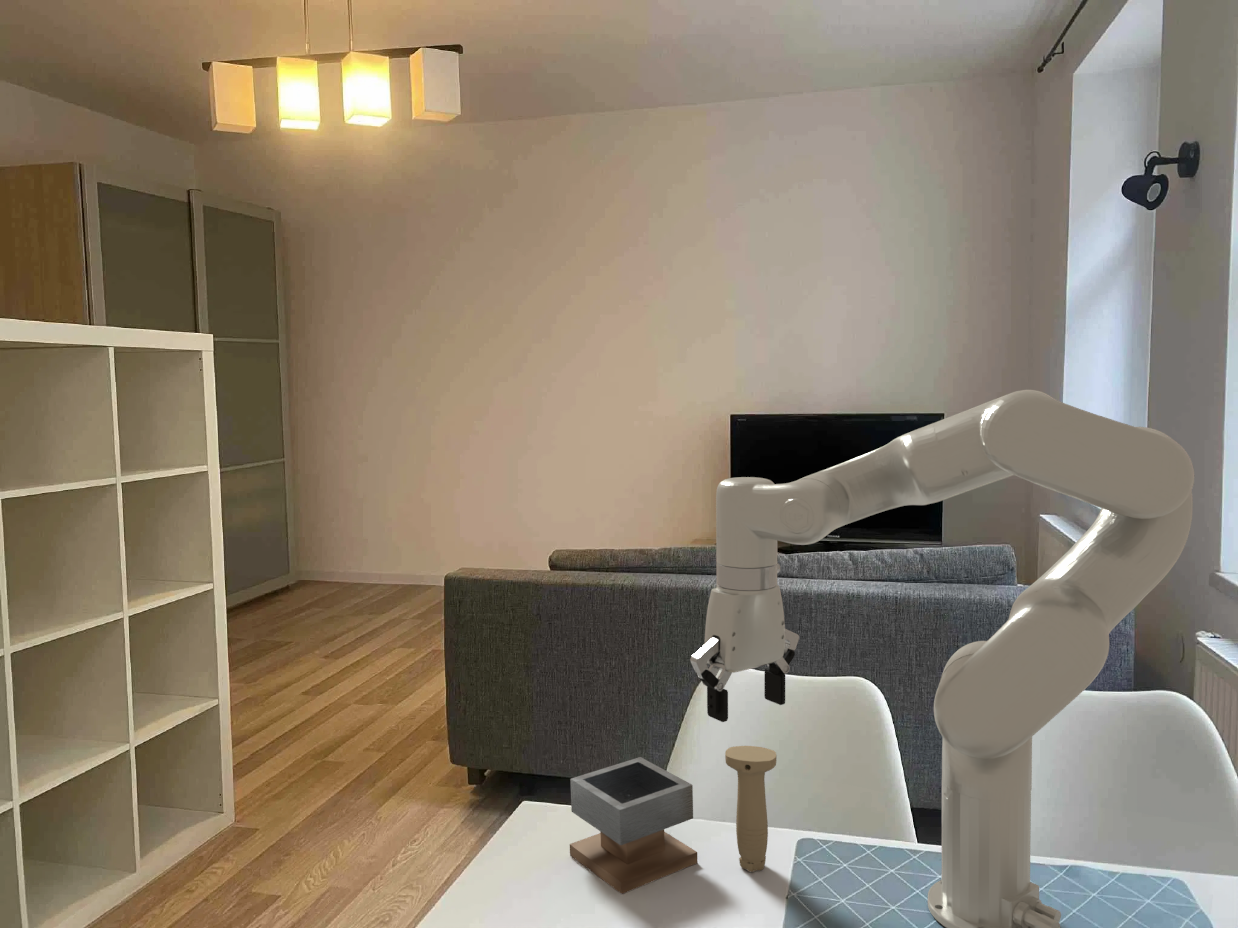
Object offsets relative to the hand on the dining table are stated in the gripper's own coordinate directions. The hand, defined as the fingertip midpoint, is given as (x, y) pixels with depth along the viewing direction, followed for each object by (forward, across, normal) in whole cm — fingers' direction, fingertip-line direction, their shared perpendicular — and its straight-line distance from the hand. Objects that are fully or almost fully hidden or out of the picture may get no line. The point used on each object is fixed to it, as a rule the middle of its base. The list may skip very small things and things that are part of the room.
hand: (746, 709), depth 118 cm
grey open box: (+15, +11, -10) cm, 21 cm away
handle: (+21, 0, +1) cm, 21 cm away
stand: (+21, +11, -10) cm, 26 cm away
